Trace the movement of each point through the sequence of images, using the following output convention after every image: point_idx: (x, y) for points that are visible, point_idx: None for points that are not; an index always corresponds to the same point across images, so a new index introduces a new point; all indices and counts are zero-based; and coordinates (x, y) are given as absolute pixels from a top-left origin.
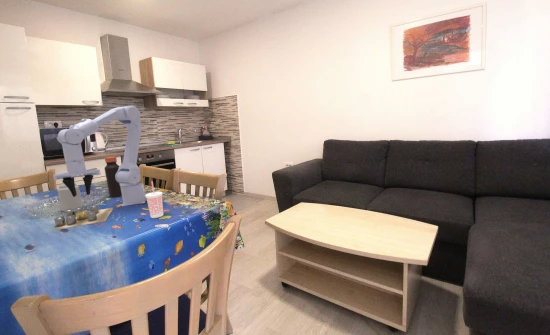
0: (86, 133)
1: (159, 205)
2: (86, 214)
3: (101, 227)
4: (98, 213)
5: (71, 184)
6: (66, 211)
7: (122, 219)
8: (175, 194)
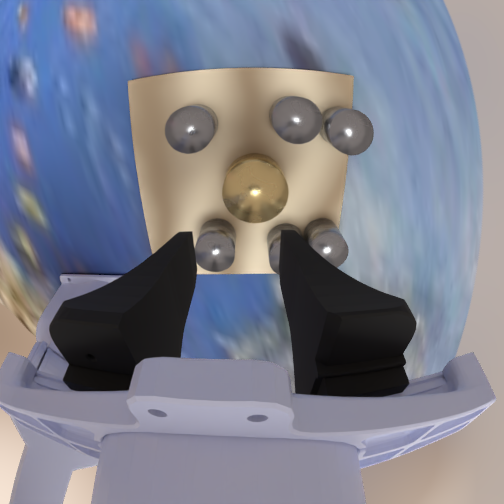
0: None
1: None
2: (212, 120)
3: (136, 23)
4: (197, 220)
5: (307, 299)
6: (337, 236)
7: (72, 99)
8: (21, 314)
